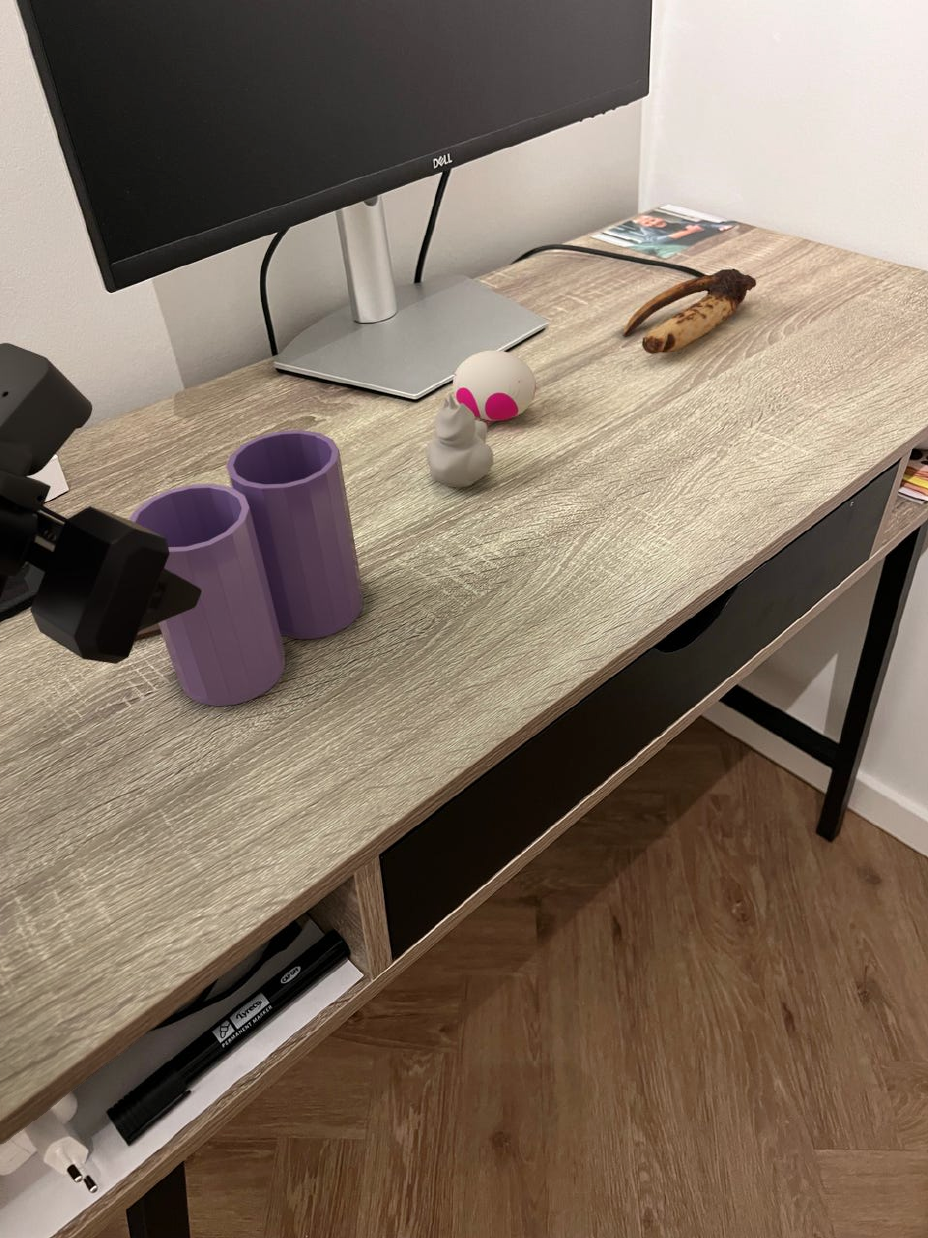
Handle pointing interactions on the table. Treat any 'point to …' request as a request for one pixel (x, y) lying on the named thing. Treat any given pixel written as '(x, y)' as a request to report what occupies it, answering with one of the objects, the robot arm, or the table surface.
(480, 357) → the stress ball
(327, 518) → the tumbler
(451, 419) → the rubber duck
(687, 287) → the lashed bone hook
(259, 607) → the tumbler
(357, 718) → the table surface
